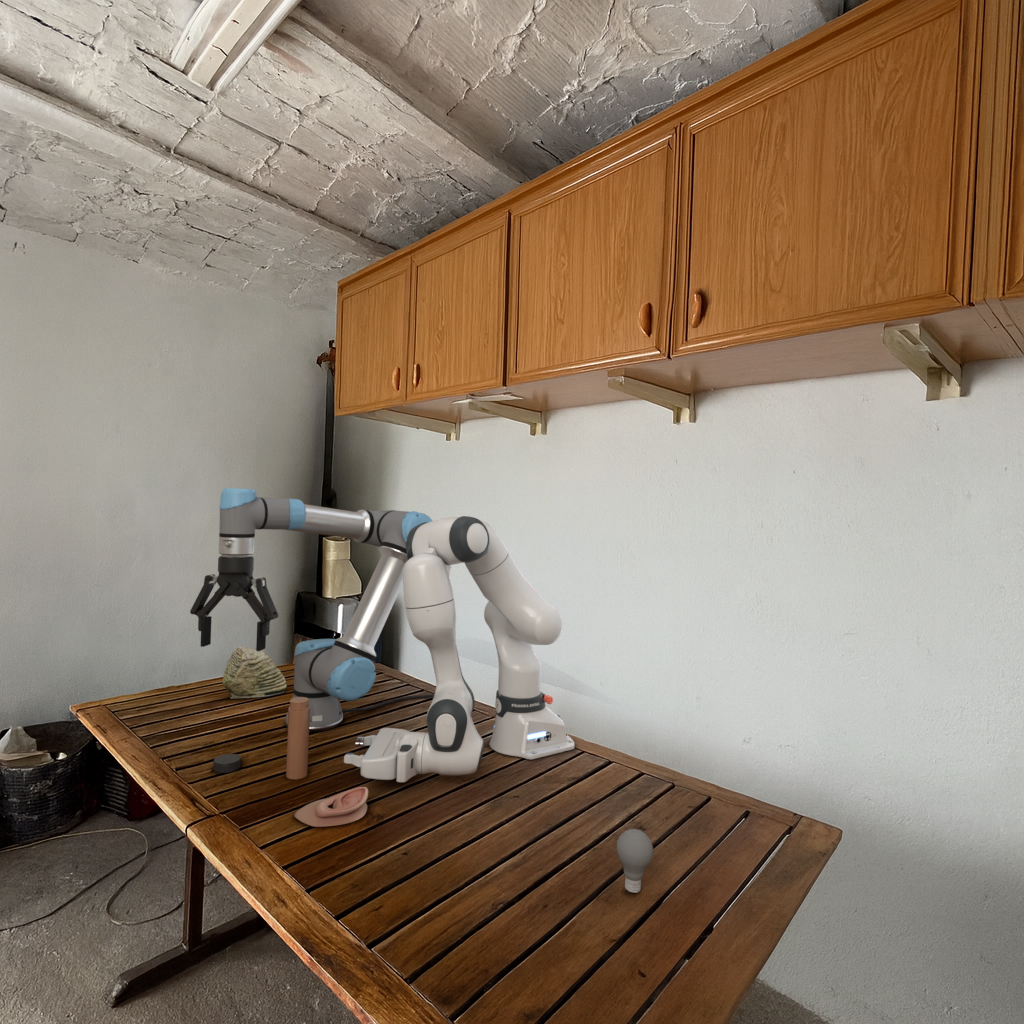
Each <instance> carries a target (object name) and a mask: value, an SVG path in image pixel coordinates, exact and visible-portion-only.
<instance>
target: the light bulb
mask: <svg viewBox="0 0 1024 1024" xmlns="http://www.w3.org/2000/svg"><path fill="white" fill-rule="evenodd" d="M615 849H616V854H617V857H618V859H619V861H620V863H621V865H622V867H623V873H624V874H623V875H624V876H625V878H624V888H625V890H627V891H628V892H630V893H634V894H635V893H639V892H640V891H641V889H642V887H641V886H642V879H643V877H644V875H645V871H646V868H647V867H648V866H649V864H650V863H651V861H652V859H653V855H654V847H653V843H652V841H651V838H649V836H648V835H647V834H646V833H645V832H643V831H642V830H641V829H636V828H629V829H627V830H625V831H623V832H622V833H621V834H620V835H619V837H618V839H617V841H616V847H615Z"/></svg>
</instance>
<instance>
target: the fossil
mask: <svg viewBox="0 0 1024 1024" xmlns="http://www.w3.org/2000/svg"><path fill="white" fill-rule="evenodd" d="M222 676H223V677H222V685H223V687H224V688H225V690H226V691H228V693H229V698H230V699H250V698H264V697H271V696H275V695H281V694H284V693H285V691H286V689H287V687H288V686H287V680H286V678H285V676H284V674H283V673H282V672H281V669H279V668H278V667H277V665H276V663H275V662H274V660H273V659H272V658H271V657H270V656H269V655H268V654H267V653H266V652H265V649H263V650H261V651H256V648H251V647H247V646H246V647H245V646H238V647H237V648H236V649H235V650H233V651H232V653H231V656H230V657H229V659H228V660H227V663H226V666H225V668H224V671H223V675H222Z"/></svg>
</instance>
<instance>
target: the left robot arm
mask: <svg viewBox="0 0 1024 1024" xmlns="http://www.w3.org/2000/svg"><path fill="white" fill-rule="evenodd" d="M219 499H220V500H219V533H218V554H219V555H221V556H218V558H217V572H218V575H216V574H214V573H212V574H207V575H205V576H204V579H203V585H202V587H201V589H200V591H199V593H198V595H197V597H196V598H195V600H194V602H193V605H192V606H191V608H190V611H189V613H190V614H191V615H194V616H196V617H197V618H198V619H197V620H198V621H197V630H198V632H200V645H199V646H200V648H201V647H202V648H204V647H206V646H210V645H211V644H212V615H211V616H210V614H211V612H212V611H214V609H215V608H216V606H217V605H219V603H220V602H221V601H222V600H223V599H224V597H231V596H232V597H235V598H240V597H241V598H242V599H243V600H245V601H246V603H247V604H248V605H249V607H250V608H251V610H252V611H253V612H254V613H255V615H256V616H257V618H258V619H259V621H257V622H256V641H255V642H256V643H255V644H256V647H255V649H256V651H261V650H265V649H266V646H267V645H266V641H267V637H268V636H269V635H270V625H271V621H273V620H275V619H277V618H279V612H278V610H277V608H276V606H275V603H274V600H273V599H272V597H271V594H270V591H269V589H268V586H267V578H266V577H259V578H255V577H254V574H253V573H254V566H255V557H254V556H252V555H254V554H255V537H256V530H282V531H283V530H284V531H290V532H298V533H299V532H300V533H308V534H315V535H323V536H332V537H340V538H347V539H352V540H353V541H354V542H356V543H361V544H367V545H371V546H375V547H378V548H379V552H380V554H381V555H380V558H379V561H378V563H377V565H376V567H375V569H374V571H373V573H372V575H371V577H370V579H369V581H368V584H367V586H366V588H365V590H364V592H363V594H362V596H361V599H360V601H359V603H358V605H357V607H356V609H355V612H354V614H353V616H352V618H351V620H350V622H349V624H348V626H347V628H346V630H345V633H344V635H342V636H340V637H338V638H319V639H308V640H303V641H300V642H299V643H298V642H297V644H296V646H295V650H294V655H293V657H294V672H293V695H292V696H293V697H292V698H296V697H306V698H308V699H309V706H310V723H309V733H316V732H325V731H329V730H332V729H335V728H337V727H339V726H340V725H342V723H343V722H344V714H343V713H351V712H353V713H354V712H366V711H371V710H374V709H377V708H379V707H382V706H385V705H388V704H392V703H395V702H399V701H404V700H411V699H412V700H413V699H423V698H433V697H434V694H435V693H431V694H430V693H429V694H419V695H409V696H408V695H407V696H402V697H397V698H393V699H389V700H387V701H383V702H380V703H376V704H374V705H371V706H368V707H361V708H358V707H357V708H345V709H342V706H341V702H340V700H342V701H345V702H353V701H354V702H355V701H357V700H359V699H361V698H363V697H364V696H366V695H367V694H368V693H369V692H370V691H371V689H372V688H373V686H374V684H375V682H376V677H377V671H376V666H375V664H374V663H375V660H376V658H377V652H376V651H375V646H376V644H377V642H378V640H379V637H380V635H381V633H382V631H383V629H384V626H385V624H386V622H387V620H388V618H389V615H390V613H391V611H392V608H393V606H394V604H395V602H396V600H397V597H398V595H399V593H400V591H401V589H402V587H403V568H404V565H405V563H406V562H407V561H408V558H407V552H406V540H407V536H408V534H409V532H410V530H411V529H412V528H414V527H415V526H417V525H419V524H421V523H424V522H432V521H433V519H432V518H431V517H430V516H429V515H427V514H426V513H423V512H418V511H415V510H412V511H408V510H407V511H406V510H394V509H391V510H390V509H388V510H386V509H385V510H370V509H369V510H368V509H359V510H356V511H352V510H345V509H340V508H339V509H338V508H331V507H325V506H319V505H312V504H306V503H304V502H303V501H302V500H301V499H298V498H291V497H290V498H288V497H287V498H286V497H285V498H284V497H281V498H280V497H264V496H263V497H262V496H261V497H260V496H258V494H257V491H256V490H255V489H254V488H237V487H236V488H235V487H232V488H231V487H226V488H224V489H222V491H221V493H220V498H219ZM216 584H217V585H218V586H219V587H218V588H217V590H216V591H215V592H214V594H213V595H212V596H211V593H212V591H213V590H214V587H215V585H216ZM252 587H254V588H255V589H256V592H257V595H258V597H257V596H256V592H255V591H254V590H253V588H252ZM210 596H211V597H210ZM209 597H210V599H209ZM259 599H260V600H259ZM285 726H286V728H288V712H287V713H286V715H285Z"/></svg>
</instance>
